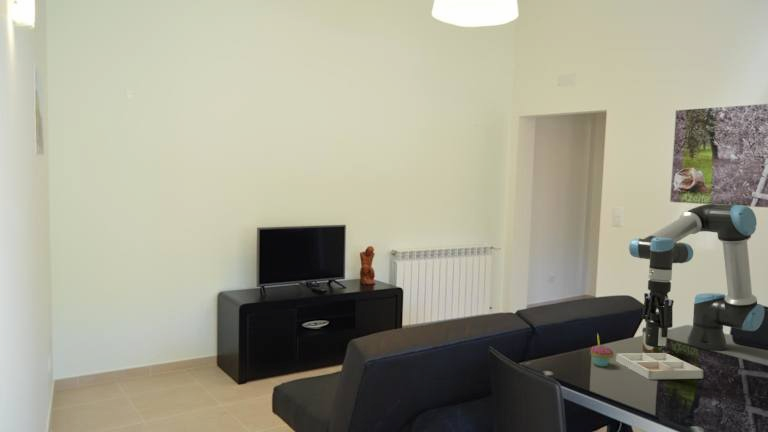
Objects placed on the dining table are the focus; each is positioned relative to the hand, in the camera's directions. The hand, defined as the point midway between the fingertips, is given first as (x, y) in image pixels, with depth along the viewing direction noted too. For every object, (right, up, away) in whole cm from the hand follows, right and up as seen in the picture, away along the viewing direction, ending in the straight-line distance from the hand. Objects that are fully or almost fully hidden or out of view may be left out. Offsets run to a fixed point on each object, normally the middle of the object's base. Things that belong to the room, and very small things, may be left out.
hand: (655, 342), depth 215 cm
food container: (+12, -11, +26) cm, 31 cm away
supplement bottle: (0, -1, 0) cm, 1 cm away
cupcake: (-16, -11, +10) cm, 22 cm away
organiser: (+4, -12, +7) cm, 14 cm away
